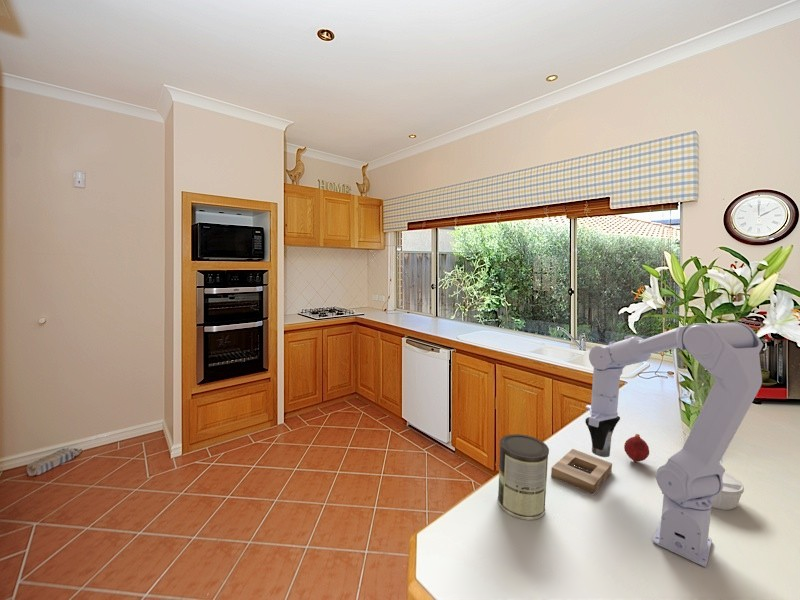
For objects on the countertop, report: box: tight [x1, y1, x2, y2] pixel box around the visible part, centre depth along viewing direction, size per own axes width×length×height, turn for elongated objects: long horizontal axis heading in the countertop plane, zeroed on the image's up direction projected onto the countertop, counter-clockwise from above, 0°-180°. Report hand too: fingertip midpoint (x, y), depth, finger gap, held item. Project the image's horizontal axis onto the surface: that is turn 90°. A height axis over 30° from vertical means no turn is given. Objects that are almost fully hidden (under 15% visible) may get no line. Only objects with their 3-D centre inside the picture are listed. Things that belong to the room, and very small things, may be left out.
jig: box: [550, 448, 613, 496], centre depth 92 cm, size 14×10×2 cm
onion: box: [623, 433, 650, 463], centre depth 98 cm, size 6×6×8 cm
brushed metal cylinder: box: [591, 430, 613, 458], centre depth 89 cm, size 4×4×6 cm
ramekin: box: [711, 471, 745, 511], centre depth 83 cm, size 11×11×5 cm
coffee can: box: [497, 433, 550, 521], centre depth 79 cm, size 10×10×14 cm
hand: (600, 445), depth 89 cm, fingers closed on brushed metal cylinder, 4 cm apart
